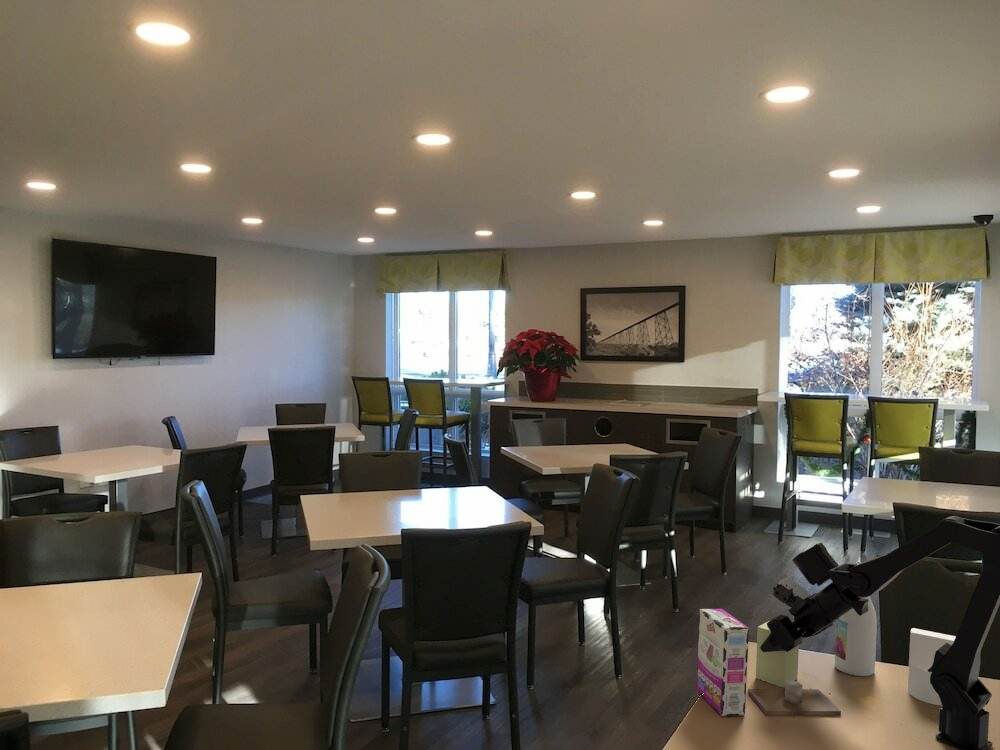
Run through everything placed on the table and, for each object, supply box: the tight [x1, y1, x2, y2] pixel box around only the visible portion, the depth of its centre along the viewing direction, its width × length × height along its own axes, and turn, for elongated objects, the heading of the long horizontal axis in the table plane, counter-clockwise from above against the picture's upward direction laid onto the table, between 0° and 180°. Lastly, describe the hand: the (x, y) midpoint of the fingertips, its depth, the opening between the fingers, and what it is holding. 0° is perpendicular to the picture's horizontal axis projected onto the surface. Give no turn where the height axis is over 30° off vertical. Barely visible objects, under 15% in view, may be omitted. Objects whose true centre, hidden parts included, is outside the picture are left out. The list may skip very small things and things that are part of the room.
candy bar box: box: [696, 607, 750, 718], centre depth 146 cm, size 11×5×16 cm, turn 10°
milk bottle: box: [834, 596, 878, 677], centre depth 163 cm, size 8×8×20 cm
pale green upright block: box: [755, 620, 800, 689], centre depth 158 cm, size 6×6×11 cm
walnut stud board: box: [747, 680, 842, 716], centre depth 147 cm, size 14×9×4 cm, turn 93°
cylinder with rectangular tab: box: [907, 627, 956, 706], centre depth 152 cm, size 9×9×12 cm
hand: (771, 644), depth 159 cm, fingers open, 8 cm apart
